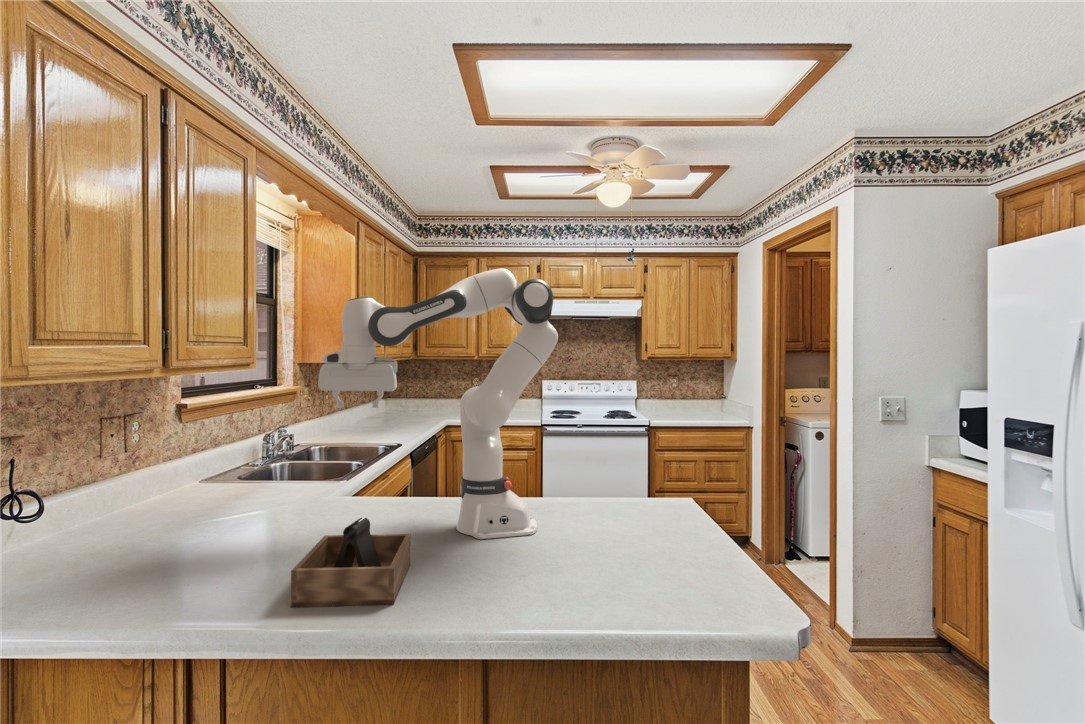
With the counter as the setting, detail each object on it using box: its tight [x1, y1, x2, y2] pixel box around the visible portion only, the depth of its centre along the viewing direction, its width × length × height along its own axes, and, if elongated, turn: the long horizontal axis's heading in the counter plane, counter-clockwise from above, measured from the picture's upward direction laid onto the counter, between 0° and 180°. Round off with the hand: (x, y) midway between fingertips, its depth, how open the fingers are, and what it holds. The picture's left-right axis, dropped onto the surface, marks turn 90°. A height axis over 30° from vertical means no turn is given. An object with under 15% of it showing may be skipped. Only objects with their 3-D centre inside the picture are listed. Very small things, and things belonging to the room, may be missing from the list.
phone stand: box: [334, 517, 381, 568], centre depth 108 cm, size 9×6×12 cm, turn 83°
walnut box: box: [290, 533, 412, 608], centre depth 108 cm, size 19×19×7 cm
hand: (358, 407), depth 141 cm, fingers open, 8 cm apart
